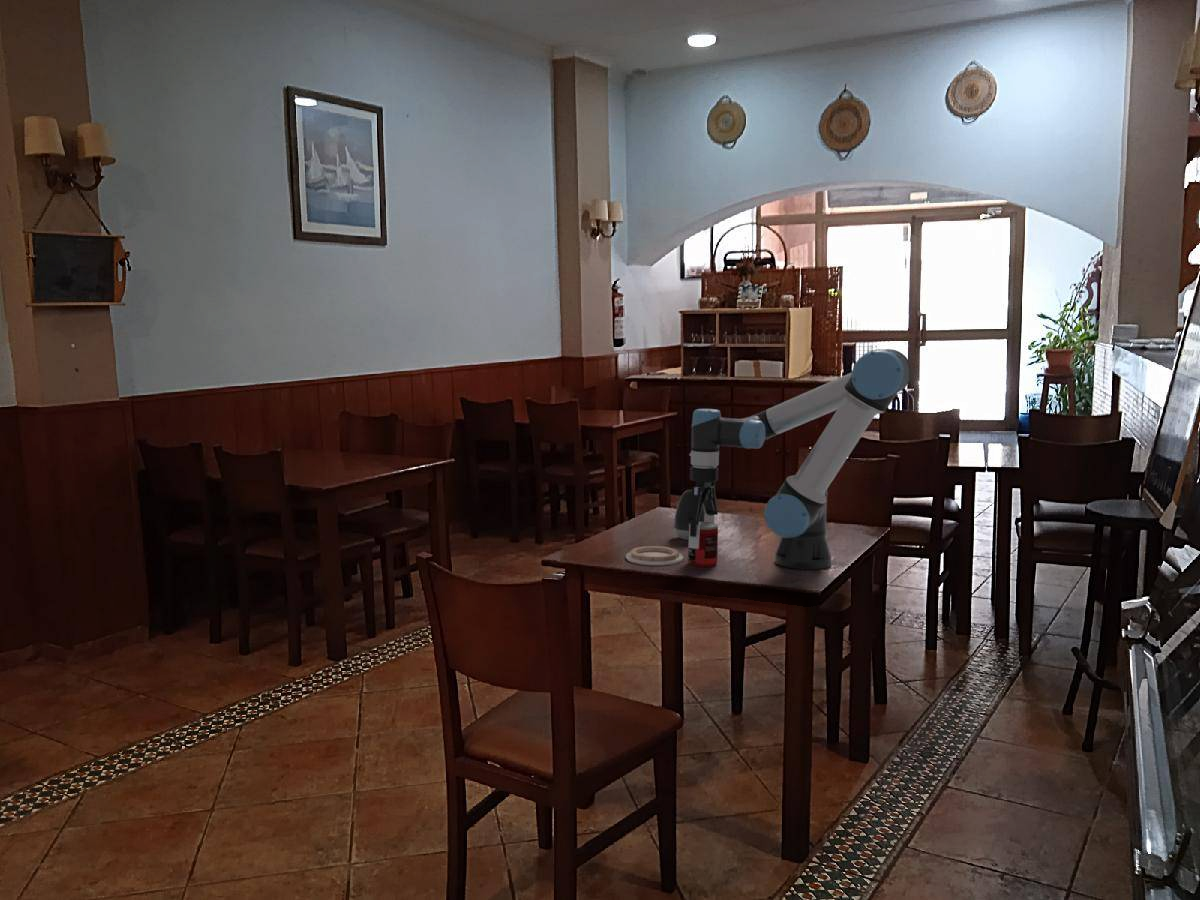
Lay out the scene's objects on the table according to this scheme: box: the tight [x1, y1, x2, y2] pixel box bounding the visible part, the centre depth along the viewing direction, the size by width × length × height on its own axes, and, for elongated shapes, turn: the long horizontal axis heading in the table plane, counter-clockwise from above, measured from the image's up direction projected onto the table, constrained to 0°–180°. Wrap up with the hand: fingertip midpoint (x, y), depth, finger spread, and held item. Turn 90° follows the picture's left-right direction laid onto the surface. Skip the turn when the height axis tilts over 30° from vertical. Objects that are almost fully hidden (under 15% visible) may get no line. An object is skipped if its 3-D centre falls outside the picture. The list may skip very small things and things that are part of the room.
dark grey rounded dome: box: [673, 489, 707, 541], centre depth 292 cm, size 10×10×15 cm
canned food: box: [687, 522, 719, 568], centre depth 261 cm, size 8×8×11 cm
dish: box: [625, 545, 684, 567], centre depth 267 cm, size 16×16×2 cm
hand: (701, 543), depth 261 cm, fingers open, 13 cm apart
